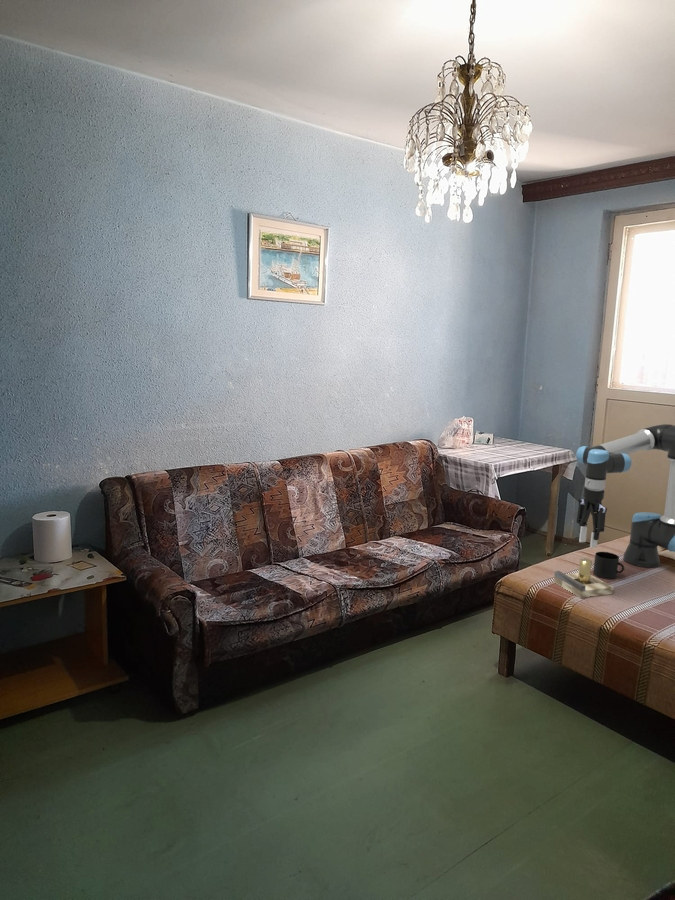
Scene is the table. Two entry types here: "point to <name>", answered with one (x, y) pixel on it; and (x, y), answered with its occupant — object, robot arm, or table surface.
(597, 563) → the mug
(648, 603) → the table surface
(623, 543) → the table surface
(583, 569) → the pale yellow cylinder
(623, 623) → the table surface
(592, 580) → the jig
